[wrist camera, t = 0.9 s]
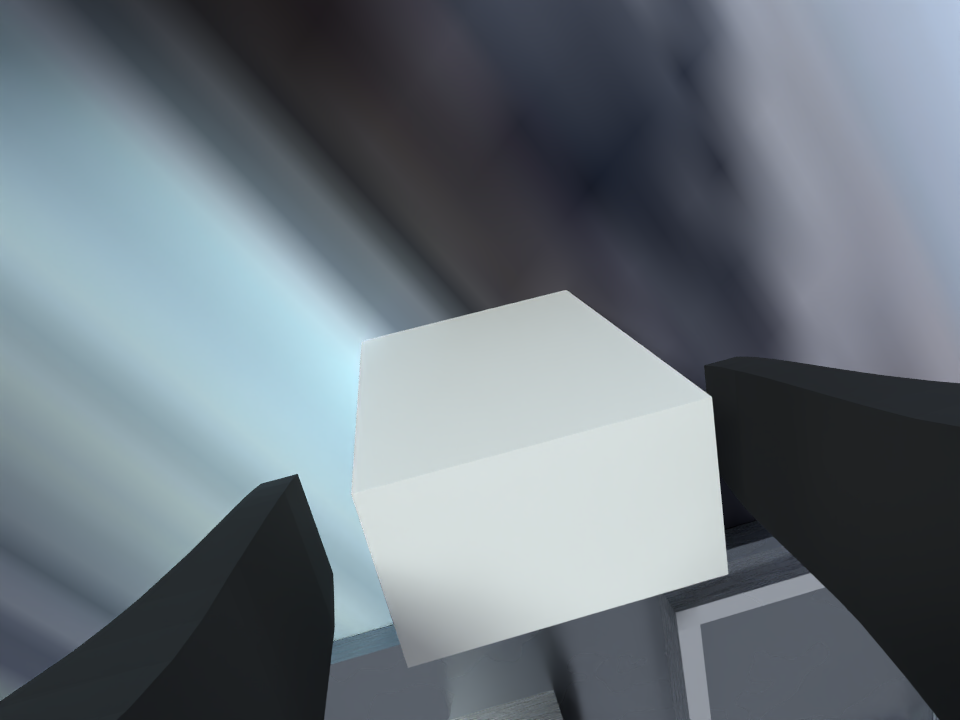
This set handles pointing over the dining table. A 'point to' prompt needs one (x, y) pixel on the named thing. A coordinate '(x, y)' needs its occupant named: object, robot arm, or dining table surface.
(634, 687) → the grey hollow box
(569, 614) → the white matte cuboid
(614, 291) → the dining table surface
